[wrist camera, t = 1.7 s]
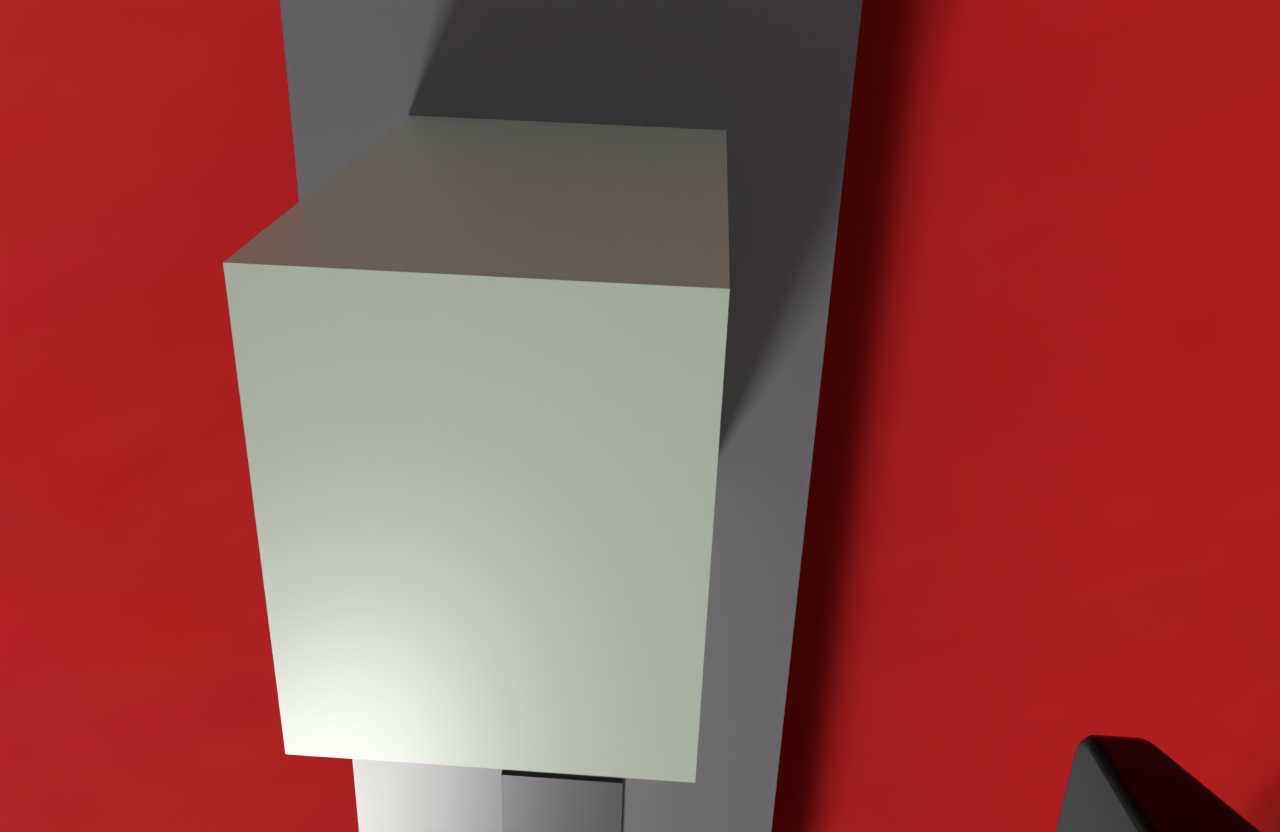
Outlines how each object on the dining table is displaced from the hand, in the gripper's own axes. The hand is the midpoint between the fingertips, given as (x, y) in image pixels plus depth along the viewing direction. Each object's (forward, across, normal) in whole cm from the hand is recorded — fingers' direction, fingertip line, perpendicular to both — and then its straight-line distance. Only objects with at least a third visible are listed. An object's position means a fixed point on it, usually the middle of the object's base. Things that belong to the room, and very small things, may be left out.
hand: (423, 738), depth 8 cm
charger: (+10, 0, 0) cm, 10 cm away
